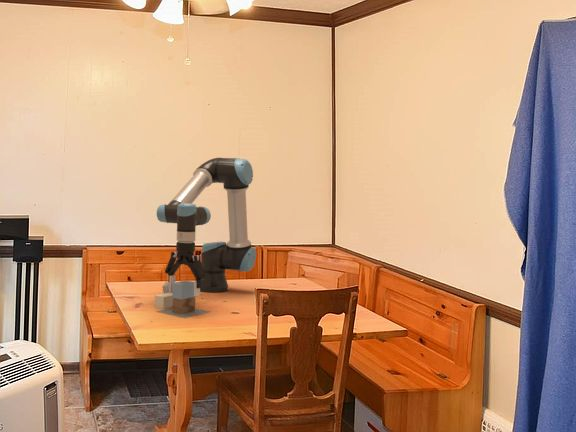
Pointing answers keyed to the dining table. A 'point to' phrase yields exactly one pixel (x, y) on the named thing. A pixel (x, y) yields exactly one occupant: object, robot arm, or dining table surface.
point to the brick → (163, 300)
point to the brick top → (183, 290)
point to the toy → (166, 288)
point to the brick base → (183, 305)
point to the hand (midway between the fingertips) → (184, 293)
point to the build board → (185, 315)
